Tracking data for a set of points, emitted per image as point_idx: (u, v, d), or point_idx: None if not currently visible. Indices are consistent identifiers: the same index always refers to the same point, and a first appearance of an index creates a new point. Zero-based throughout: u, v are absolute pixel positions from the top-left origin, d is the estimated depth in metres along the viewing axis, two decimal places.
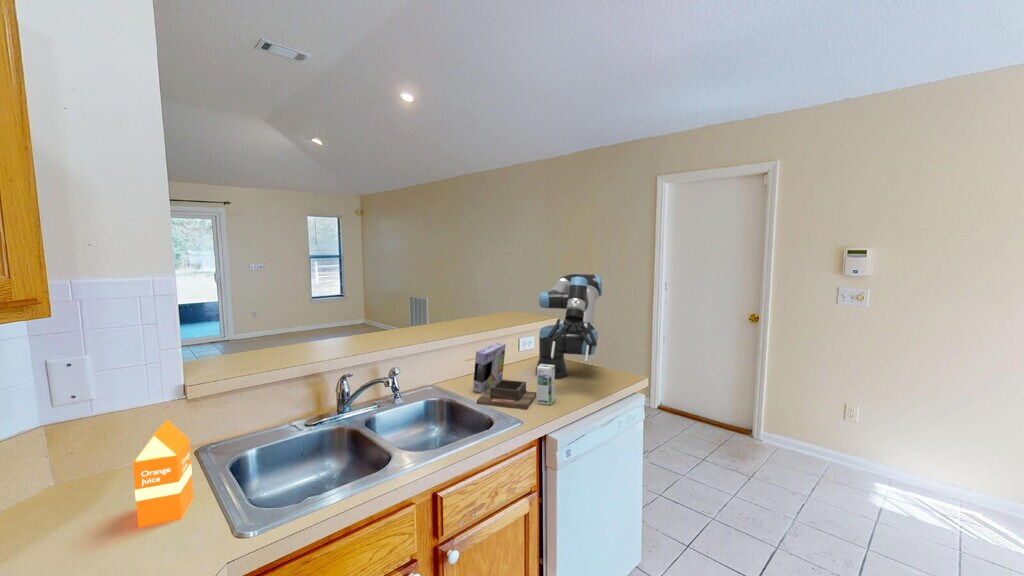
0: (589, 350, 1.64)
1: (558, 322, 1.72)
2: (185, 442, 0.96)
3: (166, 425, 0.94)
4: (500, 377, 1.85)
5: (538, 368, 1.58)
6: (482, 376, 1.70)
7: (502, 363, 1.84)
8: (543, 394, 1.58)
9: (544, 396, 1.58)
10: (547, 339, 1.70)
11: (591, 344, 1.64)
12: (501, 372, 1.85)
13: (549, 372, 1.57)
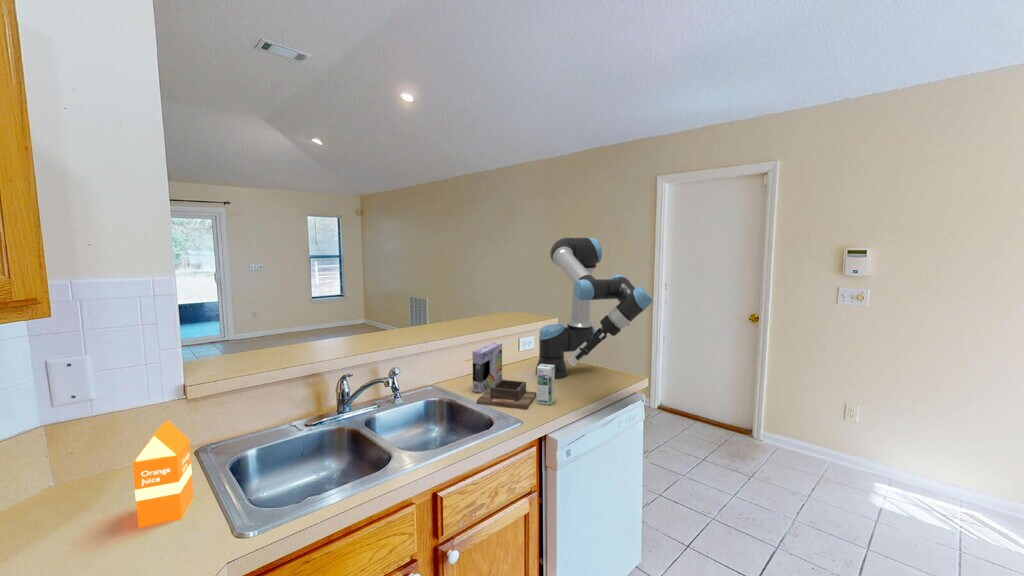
0: None
1: (603, 339, 1.46)
2: (185, 442, 0.96)
3: (166, 425, 0.94)
4: (500, 377, 1.85)
5: (538, 368, 1.58)
6: (480, 376, 1.70)
7: (500, 363, 1.84)
8: (543, 394, 1.58)
9: (544, 396, 1.58)
10: (584, 353, 1.45)
11: None
12: (500, 372, 1.85)
13: (549, 372, 1.57)
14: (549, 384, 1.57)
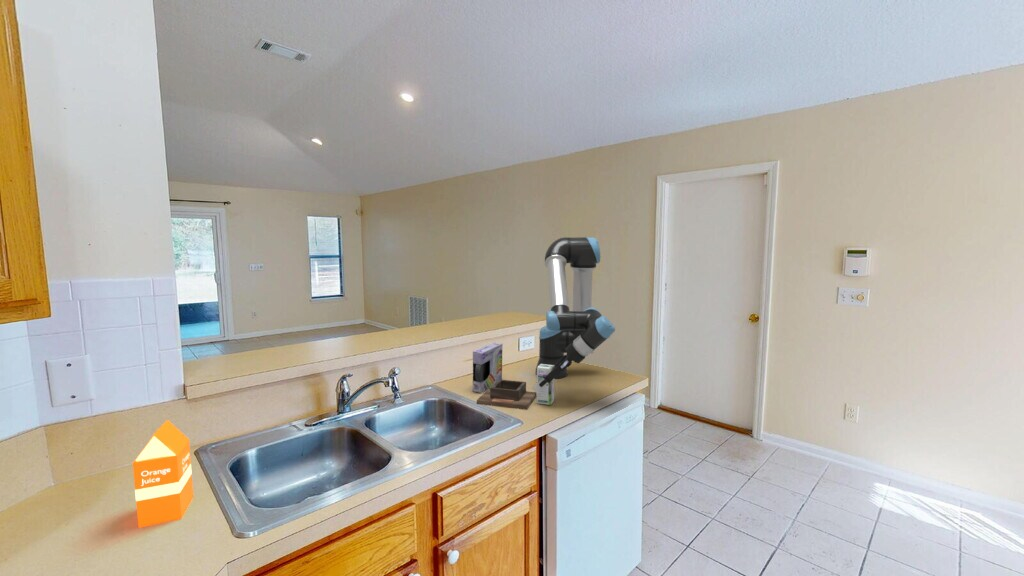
0: None
1: (564, 368, 1.52)
2: (185, 442, 0.96)
3: (166, 425, 0.94)
4: (500, 377, 1.85)
5: (538, 368, 1.58)
6: (481, 376, 1.70)
7: (500, 363, 1.84)
8: (543, 394, 1.58)
9: (544, 396, 1.58)
10: (546, 381, 1.54)
11: None
12: (500, 372, 1.85)
13: (549, 372, 1.57)
14: (549, 384, 1.57)
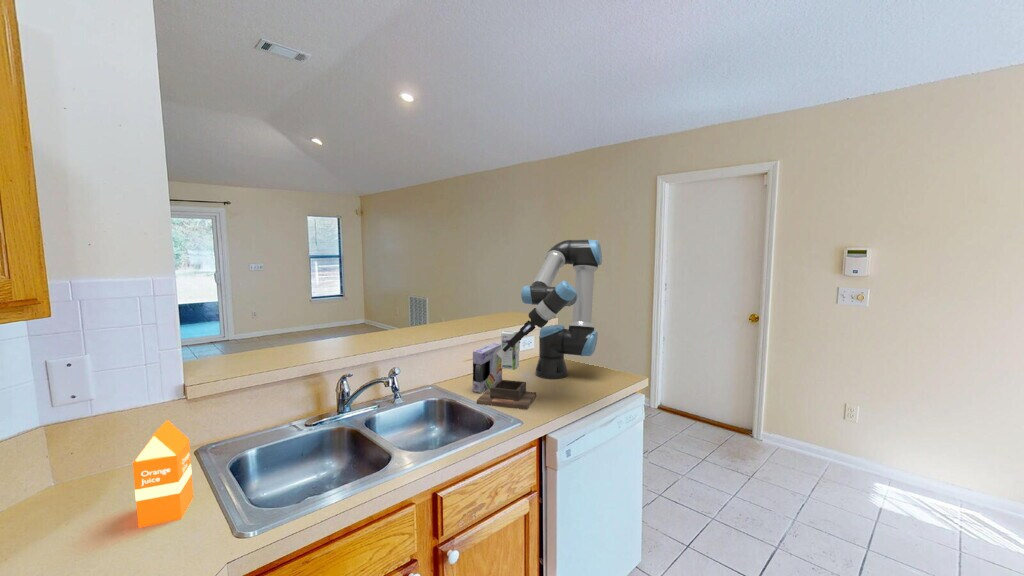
0: None
1: (527, 332, 1.54)
2: (185, 442, 0.96)
3: (166, 425, 0.94)
4: (500, 377, 1.85)
5: (502, 333, 1.60)
6: (481, 376, 1.70)
7: (500, 363, 1.84)
8: (507, 359, 1.60)
9: (508, 361, 1.60)
10: (510, 345, 1.56)
11: None
12: (500, 372, 1.85)
13: None
14: (513, 349, 1.59)
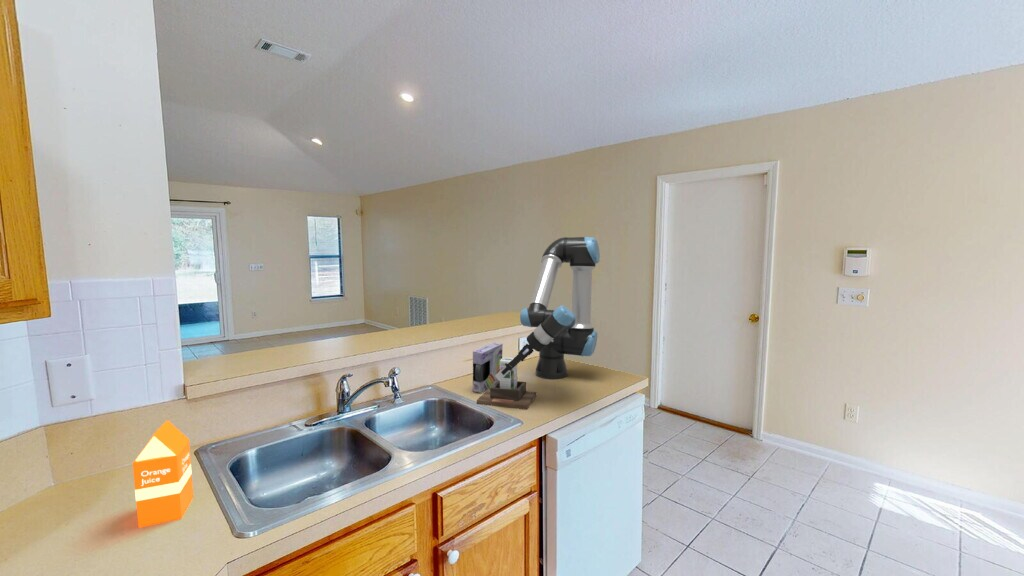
0: None
1: (526, 355, 1.55)
2: (185, 442, 0.96)
3: (166, 425, 0.94)
4: None
5: (501, 361, 1.62)
6: (481, 376, 1.70)
7: None
8: (506, 387, 1.62)
9: None
10: (508, 369, 1.54)
11: (522, 360, 1.70)
12: None
13: None
14: (511, 377, 1.61)
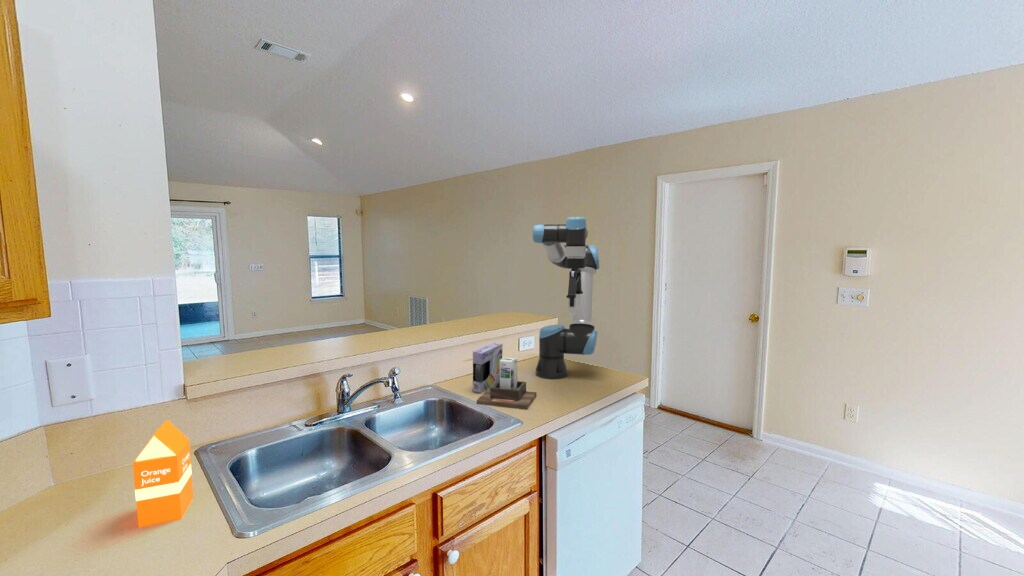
0: None
1: (576, 275, 1.53)
2: (185, 442, 0.96)
3: (166, 425, 0.94)
4: None
5: (501, 361, 1.62)
6: (481, 376, 1.70)
7: None
8: (506, 387, 1.62)
9: None
10: (572, 296, 1.51)
11: None
12: None
13: (511, 365, 1.61)
14: (511, 377, 1.61)
